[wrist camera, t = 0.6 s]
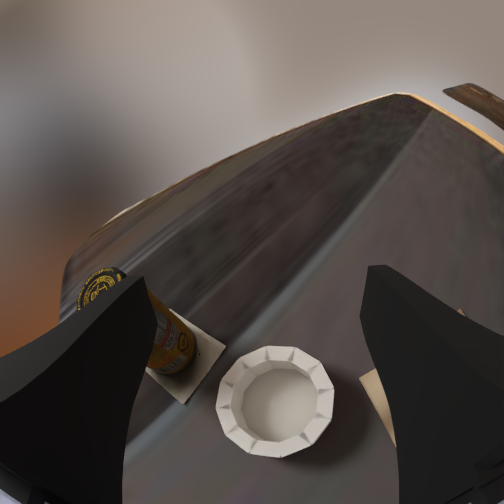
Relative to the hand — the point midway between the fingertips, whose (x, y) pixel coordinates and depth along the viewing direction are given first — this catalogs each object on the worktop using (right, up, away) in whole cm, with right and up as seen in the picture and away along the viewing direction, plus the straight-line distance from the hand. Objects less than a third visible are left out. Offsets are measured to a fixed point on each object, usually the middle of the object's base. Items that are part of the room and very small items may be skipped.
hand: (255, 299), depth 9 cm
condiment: (-8, -9, +19) cm, 23 cm away
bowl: (+2, -12, +13) cm, 18 cm away
